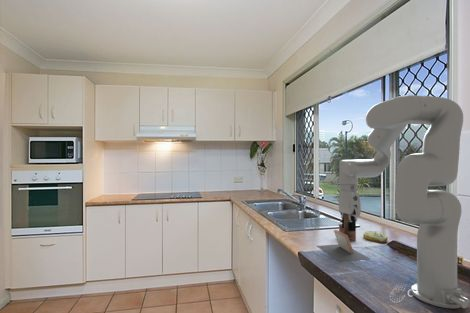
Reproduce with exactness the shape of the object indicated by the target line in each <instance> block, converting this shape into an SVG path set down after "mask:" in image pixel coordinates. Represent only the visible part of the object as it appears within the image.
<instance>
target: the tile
mask: <svg viewBox="0 0 470 313" xmlns="http://www.w3.org/2000/svg"><path fill="white" fill-rule="evenodd" d="M333 233H334V235H335V238H336V241H337V243H338V244H339V247H341V248H343V249H344V250H346V251H348V252H349V253H351V254H352V253H354V252H353V247H352V246H353V245H352V244H351V241H350V240H349V238H348V235H346V234H344V233H342V232H340V231H339V230H337V229H334V230H333ZM338 244H337V245H338Z"/></svg>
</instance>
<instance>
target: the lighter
mask: <svg viewBox="0 0 470 313" xmlns="http://www.w3.org/2000/svg"><path fill="white" fill-rule="evenodd" d="M339 221H340V222H339V224H338V229H339V230H338V231H340V232H342V233H344V228H342V219H340V220H339ZM356 235H357V230H356V231H354V237H353V238H349V240H350V242H356V241H357V236H356Z"/></svg>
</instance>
